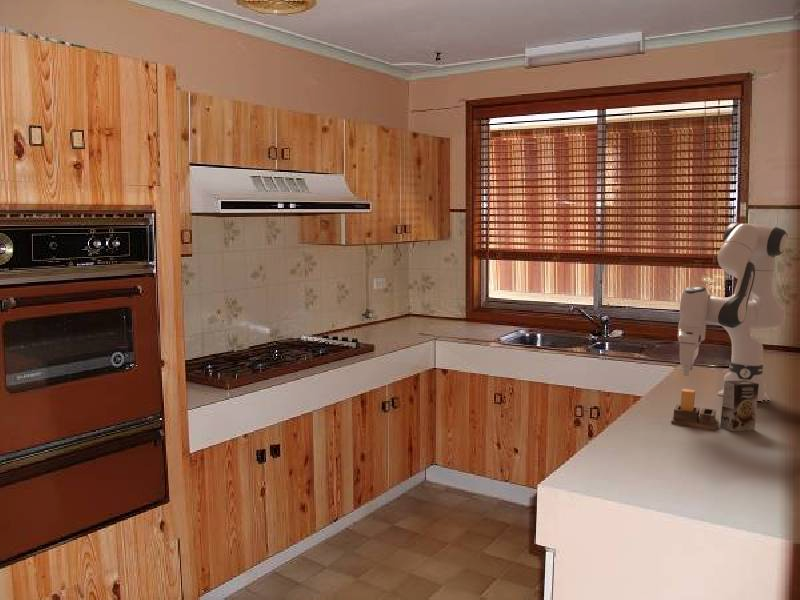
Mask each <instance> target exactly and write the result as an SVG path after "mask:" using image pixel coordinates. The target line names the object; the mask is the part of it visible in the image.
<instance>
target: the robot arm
mask: <svg viewBox="0 0 800 600" xmlns="http://www.w3.org/2000/svg"><path fill="white" fill-rule="evenodd" d="M722 240H723V241H722V242H723V243H722V245H721V247H720V249H719V251H718V254H717V263H718V265H719V267H720V268H721V270H723V271H724V272H725V273H726V274H728V275H729V276H732V277H733V278H736V279H737V280H736V281H737V282H736V286H735V287H734V292H733V294H732V295H730V296H728V297H724V296H723V297H722V296H717V295H716V296H715V295H713V294H709V293H708V290H707V288H705V287H704V286H700V285H699V286H695V285H694V286H687V287H686V288H684V289H683V291H682V293H681V297H680V302H679V311H678V312H679V316H680V317H679V322H678V325H677V341H678V342H679V363H680V364H681V365H682V366H683V376H684V377H689V376H690V373H691V371H693V370H694V363H695V360H696V359H697V356H698V354H699V345H701V343H702V342H703V341H705V339H706V330H707V324H706V323H708V324H711V325H712V324H713V325H719V326H721V327H722V328H723V329H724V330H725V331H726V332H727V334H728V336H729V338H730V341H731V358H730V360H731V361H730V362H729V364H728V365H729V369H728V370H729V372H727V373H726V374H725V375H724V378H723V381H724V382H725V381H738V380H746V381H750V382H754V383H757V384H759V388H758V398H757V401H761V402H763V401H762V400H770V401H771V397H769V396H768V395H767V393H766V391H767V388H766V386H767V385H766V384H767V381H766V379H765V377H764V376H763V372H764V365H763V357H764V356H763V355H764V346H763V344H762V342H761V341H759V339H756V338H755V337H753V336H751V330H773V329H777V328H781V327H782V326H783V325H784V324H785V322H786V319H787V314H786V309H785V308H784V306H783V305H782V304H780V302H779V301H777V299H776V298H775V296H774V293H773V279H774V273H775V266H776V257H778V256H780V255H782V254H783V253H784V252H785V250H786V248H787V246H788V241H789V240H788V233H787V231H786V230H785V229H782V228H780V227H777V226H775V227H773V226H769V225H765V224H759V223H742V222H732V223H730V224H729V225H727V227H725V230H724V233H723V239H722ZM750 296H752V298H751V299H752V300H749V299H750ZM724 382H723V383H724ZM722 387H723V388H722V389H721V390H718V392H717V395H719V396H721V397H723V392H724V384H723V386H722Z"/></svg>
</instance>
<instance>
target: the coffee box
mask: <svg viewBox="0 0 800 600" xmlns="http://www.w3.org/2000/svg"><path fill="white" fill-rule="evenodd" d="M723 385H724V386H723V387H724V392H723V396H722V403H721V404H722V405H721V406H722V407H721V414H720V415H721V416H720V427H721V428H724V429H725V430H728V431H731V432H743V431H744V430H748V431H755V430H756V419H757V418H756V417H757V407H758V402H757V398H758V388H759V384H757V383H754V382H750V381H746V380H738V381H725V382H723ZM744 432H745V431H744Z"/></svg>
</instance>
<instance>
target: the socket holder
mask: <svg viewBox="0 0 800 600" xmlns="http://www.w3.org/2000/svg"><path fill="white" fill-rule="evenodd" d="M680 408H681V404H680V405H679V404H676V405H675V408H674V409H673V417H672V419H671V420H670V424H671V423H672V424H671V425H676V424H679V425H678V426H683V425H684V426H685V427H690V426H691V427H692V428H696V429H697V428H698V429H703V428H704V430H710V429H711V430H712V431H716V429H717V425H718V423H719V418H716V417H717V416H716V415H717V414H716V413H717V409H713V408H707V407H702V408H700V407H695V406H694V412H692V411H685V410H680ZM700 409H701V410H700Z"/></svg>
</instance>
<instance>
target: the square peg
mask: <svg viewBox="0 0 800 600" xmlns="http://www.w3.org/2000/svg"><path fill="white" fill-rule="evenodd" d="M680 395H681V398H680V405H681V408H680V410H685V411H692V412H694V407H695V398H696V389H695V390H694V389H689V388H682V390H681V394H680Z"/></svg>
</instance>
